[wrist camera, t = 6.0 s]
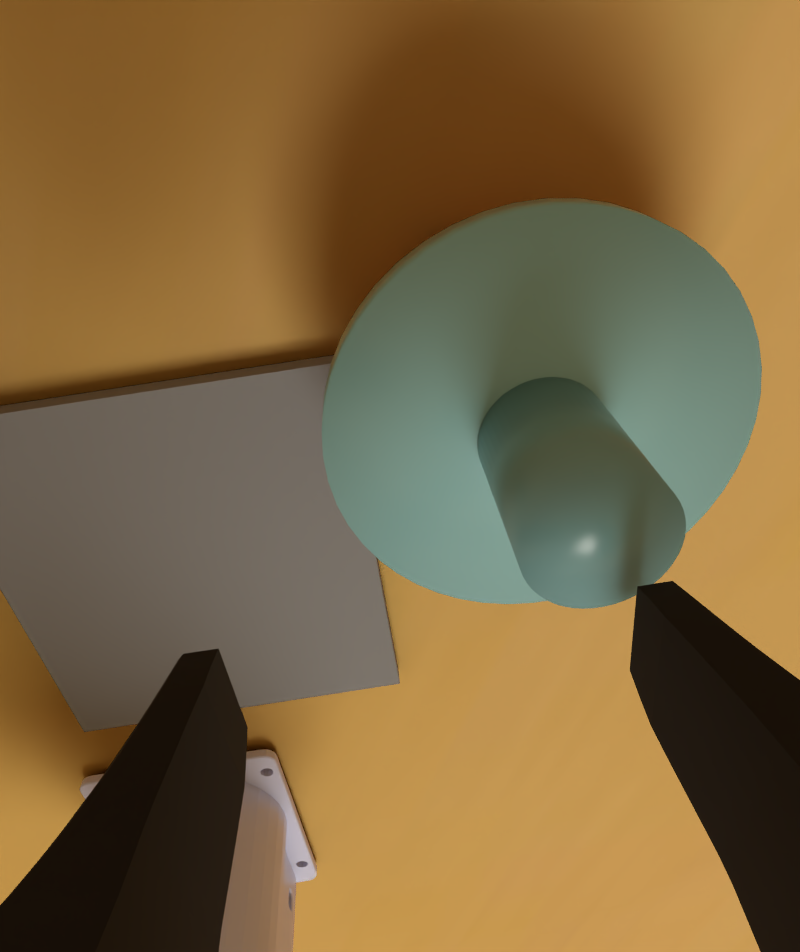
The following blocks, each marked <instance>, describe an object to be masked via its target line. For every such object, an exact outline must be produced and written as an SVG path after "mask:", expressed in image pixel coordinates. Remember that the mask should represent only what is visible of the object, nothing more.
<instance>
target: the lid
mask: <svg viewBox="0 0 800 952" xmlns="http://www.w3.org/2000/svg"><path fill="white" fill-rule="evenodd" d="M761 371H762V366H761V357H760V348H759V341H758V337H757V333H756V330H755V326H754V323H753V319H752V316H751V313H750V311H749V309H748V307H747V305H746V303H745V301H744V298H743V296H742V294H741V292H740V290H739V289H738V288H737V286H736V285H735V283H734V282H733V280H732V279H731V278H730V276H729V275H728V273H727V272H726V270H725V269H724V268H723V267H722V266H721V265H720V264H719V263H718V262H717V261H716V260H715V259H714V258H713V257H712V256H711V255H710V254H709V253H708V252H707V251H706V250H705V249H704V248H703V247H701V246H700V245H698V244H697V243H696V242H694V241H693V240H691V239H690V238H689V237H687V236H686V235H684V234H683V233H682V232H680V231H678V230H676V229H674V228H672V227H670V226H668V225H666V224H664V223H661V222H659V221H657V220H655V219H653V218H651V217H649V216H647V215H645V214H643V213H641V212H638V211H635V210H632V209H629V208H626V207H622V206H619V205H616V204H613V203H609V202H602V201H596V200H589V199H582V198H543V199H536V200H529V201H522V202H516V203H511V204H508V205H504V206H501V207H497V208H494V209H490V210H487V211H483V212H480V213H478V214H476V215H473V216H471V217H469V218H467V219H464V220H462V221H460V222H457V223H455V224H453V225H451V226H449V227H447V228H446V229H444V230H442V231H441V232H439V233H437V234H436V235H434V236H432V237H431V238H429V239H427V240H426V241H424V242H422V243H421V244H420V245H418V246H417V247H416V248H415V249H413V250H412V251H411V252H410V253H408V254H407V255H406V256H405V257H403V258H402V259H401V260H400V261H398V262H397V263H396V264H395V265H394V266H393V267H392V268H391V269H390V270H389V271H388V272H387V273H386V274H385V275H384V276H383V277H382V278H381V279H380V280H379V281H378V282H377V283H376V284H375V286H374V287H373V288H372V289H371V291H370V292H369V294H368V295H367V296H366V298H365V299H364V300H363V302H362V303H361V304H360V306H359V307H358V308H357V310H356V311H355V313H354V315H353V316H352V318H351V320H350V322H349V324H348V325H347V327H346V329H345V331H344V333H343V334H342V336H341V339H340V341H339V344H338V346H337V349H336V351H335V354H334V356H333V359H332V362H331V365H330V369H329V373H328V377H327V382H326V386H325V391H324V402H323V413H322V447H323V460H324V464H325V469H326V474H327V479H328V483H329V485H330V488H331V491H332V493H333V496H334V499H335V501H336V504H337V506H338V508H339V510H340V511H341V513H342V515H343V517H344V519H345V520H346V522H347V524H348V526H349V527H350V528H351V529H352V531H353V532H354V533H355V535H356V536H357V537H358V539H359V540H360V541H361V542H362V544H363V545H364V546H365V547H366V548H367V549H368V550H369V551H370V552H371V553H373V554H374V555H375V556H376V557H377V558H378V559H379V560H380V561H381V562H383V563H384V564H385V565H387V566H388V567H389V568H391V569H392V570H394V571H395V572H396V573H398V574H400V575H401V576H403V577H405V578H407V579H409V580H410V581H412V582H414V583H416V584H418V585H420V586H423V587H425V588H428V589H430V590H432V591H435V592H437V593H441V594H444V595H448V596H451V597H455V598H459V599H464V600H470V601H476V602H482V603H498V604H518V603H534V602H541V601H550V602H552V603H554V604H557V605H561V606H565V607H571V608H583V609H584V608H597V607H604V606H608V605H612V604H616V603H618V602H621V601H624V600H626V599H629V598H631V597H633V596H635V595H637V586H643V585H650V584H654V583H655V582H656V581H657V580H658V579H660V578H661V577H662V576H663V574H664V573H665V572H666V571H667V570H668V569H669V568H670V566H671V565H672V564H673V562H674V561H675V559H676V558H677V556H678V554H679V552H680V550H681V547H682V545H683V541H684V538H685V533H687V532H688V531H689V530H690V529H691V528H692V527H693V526H694V525H695V524H696V523H697V522H698V520H699V519H700V518H701V517H702V516H703V515H704V514H705V513H706V512H707V511H708V510H709V508H710V507H711V506H712V504H713V503H714V502H715V501H716V499H717V498H718V497H719V495H720V494H721V493H722V491H723V490H724V489H725V487H726V485H727V484H728V482H729V480H730V479H731V477H732V475H733V474H734V472H735V470H736V469H737V467H738V465H739V463H740V460H741V458H742V456H743V454H744V452H745V450H746V447H747V445H748V443H749V440H750V436H751V433H752V430H753V427H754V424H755V421H756V416H757V411H758V405H759V400H760V394H761Z"/></svg>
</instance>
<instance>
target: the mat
mask: <svg viewBox="0 0 800 952" xmlns="http://www.w3.org/2000/svg"><path fill="white" fill-rule="evenodd" d="M333 356H334V355H331V356H324V357H318V358H311V359H305V360H298V361H292V362H285V363H278V364H272V365H265V366H259V367H252V368H246V369H239V370H232V371H226V372H219V373H213V374H206V375H200V376H193V377H187V378H180V379H173V380H167V381H160V382H154V383H147V384H141V385H134V386H127V387H121V388H114V389H108V390H101V391H95V392H88V393H82V394H75V395H68V396H62V397H55V398H49V399H42V400H36V401H29V402H23V403H16V404H9V405H3V406H0V589H1V591H2V593H3V594H4V596H5V598H6V600H7V601H8V603H9V605H10V606H11V608H12V610H13V612H14V613H15V615H16V617H17V618H18V620H19V622H20V623H21V625H22V627H23V629H24V630H25V632H26V634H27V635H28V637H29V639H30V640H31V642H32V644H33V646H34V647H35V649H36V651H37V652H38V654H39V656H40V657H41V659H42V661H43V663H44V664H45V666H46V668H47V669H48V671H49V673H50V674H51V676H52V678H53V680H54V681H55V683H56V685H57V686H58V688H59V690H60V691H61V693H62V695H63V697H64V698H65V700H66V702H67V703H68V705H69V707H70V708H71V710H72V712H73V714H74V715H75V717H76V719H77V720H78V722H79V724H80V725H81V727H82V729H83V731H84V732H88V731H94V730H101V729H107V728H114V727H120V726H127V725H133V724H138V723H139V721H140V720H141V718H142V717H143V715H144V713H145V712H146V710H147V709H148V707H149V706H150V704H151V703H152V701H153V699H154V698H155V696H156V695H157V693H158V691H159V690H160V688H161V687H162V685H163V683H164V682H165V680H166V679H167V677H168V675H169V674H170V672H171V671H172V669H173V667H174V666H175V664H176V663H177V661H178V659H179V658H180V657H181V656H182V655H183V654H185V653H192V652H198V651H205V650H212V649H219V651H220V654H221V656H222V659H223V662H224V665H225V667H226V670H227V673H228V676H229V678H230V681H231V684H232V687H233V689H234V692H235V695H236V697H237V700H238V703H239V706H240V708H244V707H250V706H257V705H263V704H270V703H276V702H283V701H289V700H296V699H302V698H309V697H315V696H322V695H328V694H335V693H341V692H348V691H354V690H361V689H367V688H374V687H380V686H387V685H393V684H400V681H399V672H398V666H397V661H396V655H395V650H394V645H393V639H392V634H391V629H390V623H389V618H388V613H387V607H386V602H385V597H384V591H383V586H382V581H381V575H380V570H379V564H378V559H377V557H376V556H375V555H374V554H373V553H371V552H370V551H369V550H368V549H367V548H366V547H365V546H364V545H363V544H362V542H361V541H360V540H359V539H358V537H357V536H356V535H355V533H354V532H353V531H352V529H351V528H350V527H349V526H348V524H347V522H346V520H345V519H344V517H343V515H342V513H341V511H340V510H339V508H338V506H337V504H336V501H335V499H334V496H333V493H332V491H331V488H330V485H329V483H328V479H327V474H326V469H325V464H324V460H323V447H322V413H323V402H324V391H325V386H326V382H327V377H328V373H329V369H330V365H331V362H332V359H333Z"/></svg>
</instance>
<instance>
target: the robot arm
mask: <svg viewBox="0 0 800 952" xmlns="http://www.w3.org/2000/svg"><path fill="white" fill-rule="evenodd" d="M630 672H631V674H632V677H633V680H634V682H635V685H636V688H637V691H638V693H639V696H640V699H641V701H642V704H643V706H644V709H645V712H646V714H647V717H648V719H649V722H650V724H651V726H652V728H653V730H654V732H655V734H656V736H657V738H658V740H659V742H660V744H661V746H662V748H663V750H664V752H665V754H666V756H667V758H668V760H669V761H670V763H671V765H672V767H673V769H674V771H675V773H676V775H677V777H678V779H679V781H680V782H681V784H682V786H683V788H684V790H685V792H686V794H687V796H688V798H689V800H690V801H691V803H692V805H693V807H694V809H695V811H696V813H697V815H698V817H699V819H700V820H701V822H702V824H703V826H704V828H705V830H706V832H707V834H708V836H709V837H710V839H711V841H712V843H713V845H714V847H715V849H716V851H717V853H718V855H719V857H720V859H721V861H722V863H723V865H724V867H725V869H726V871H727V874H728V876H729V878H730V880H731V882H732V884H733V887H734V889H735V891H736V894H737V896H738V898H739V901H740V903H741V906H742V908H743V910H744V913H745V915H746V918H747V920H748V922H749V925H750V927H751V930H752V932H753V934H754V937H755V939H756V942H757V944H758V946H759V949H760V951H761V952H800V680H799V679H797V678H796V677H795V676H793V675H792V674H791V673H789V672H788V671H787V670H785V669H784V668H783V667H781V666H780V665H779V664H777V663H776V662H775V661H773V660H772V659H771V658H769V657H768V656H767V655H765V654H764V653H763V652H761V651H760V650H759V649H757V648H756V647H755V646H753V645H752V644H751V643H750V642H748V641H747V640H746V639H744V638H743V637H742V636H741V635H739V634H738V633H737V632H736V631H734V630H733V629H732V628H731V627H729V626H728V625H727V624H726V623H724V622H723V621H722V620H721V619H719V618H718V617H717V616H716V615H714V614H713V613H712V612H711V611H709V610H708V609H707V608H706V607H704V606H703V605H702V604H701V603H699V602H698V601H697V600H696V599H694V598H693V597H692V596H691V595H689V594H688V593H687V592H686V591H684V590H683V589H682V588H681V587H679V586H678V585H677V584H676V583H674V582H673V581H670V582H663V583H656V584H650V585H643V586H637V595H636V607H635V618H634V629H633V641H632V652H631V663H630ZM246 751H247V725H246V722H245V719H244V717H243V714H242V711H241V708H240V706H239V703H238V700H237V697H236V695H235V692H234V689H233V687H232V684H231V681H230V678H229V676H228V673H227V670H226V667H225V665H224V662H223V659H222V656H221V654H220V651H219V649H212V650H205V651H198V652H192V653H185V654H183V655H182V656H181V657H180V658H179V659H178V661H177V663H176V664H175V666H174V667H173V669H172V671H171V672H170V674H169V675H168V677H167V679H166V680H165V682H164V683H163V685H162V687H161V688H160V690H159V691H158V693H157V695H156V696H155V698H154V699H153V701H152V703H151V704H150V706H149V707H148V709H147V710H146V712H145V713H144V715H143V717H142V718H141V720H140V721H139V723H138V724H137V726H136V727H135V729H134V731H133V732H132V733H131V735H130V736H129V738H128V739H127V741H126V742H125V744H124V745H123V747H122V748H121V750H120V751H119V753H118V754H117V756H116V757H115V759H114V760H113V762H112V763H111V765H110V766H109V768H108V769H107V770H106V772H105V773H104V774H98V775H92V776H88V777H86V778H84V779H83V781H82V784H81V787H80V792H81V793H82V795H83V797H84V798H85V801H84V802H83V804H82V805H81V806H80V808H79V809H78V810H77V812H76V813H75V814H74V816H73V817H72V818H71V820H70V821H69V823H68V824H67V825H66V827H65V828H64V829H63V830H62V832H61V833H60V834H59V836H58V837H57V838H56V839H55V841H54V842H53V843H52V844H51V846H50V847H49V848H48V849H47V851H46V852H45V853H44V854H43V856H42V857H41V858H40V859H39V861H38V862H37V863H36V864H35V865H34V867H33V868H32V869H31V870H30V871H29V873H28V874H27V875H26V876H25V877H24V879H23V880H22V881H21V882H20V883H19V884H18V886H17V887H16V888H15V889H14V890H13V892H12V893H11V894H10V895H9V896H8V897H7V898H6V900H5V901H4V902H3V903H2V904H1V905H0V952H293V937H294V917H295V896H296V882H302V881H308V880H312V879H314V878H315V877H316V875H317V865H316V862H315V860H314V857H313V854H312V851H311V849H310V846H309V843H308V840H307V838H306V835H305V832H304V829H303V826H302V824H301V821H300V818H299V815H298V813H297V810H296V807H295V804H294V802H293V799H292V796H291V793H290V790H289V788H288V785H287V782H286V779H285V777H284V774H283V771H282V768H281V766H280V763H279V760H278V757H277V755H276V753H275V752H273V751H271V750H268V749H261V750H254V751H248V752H246Z"/></svg>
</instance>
